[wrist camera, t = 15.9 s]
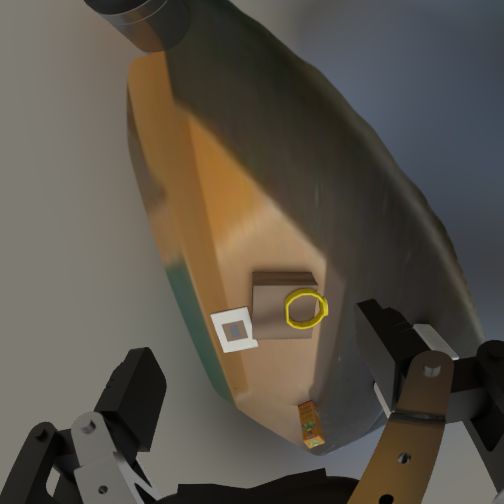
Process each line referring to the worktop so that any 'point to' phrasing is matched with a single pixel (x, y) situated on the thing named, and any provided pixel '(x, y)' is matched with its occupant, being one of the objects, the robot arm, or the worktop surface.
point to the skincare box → (434, 340)
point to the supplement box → (310, 424)
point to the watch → (312, 322)
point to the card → (234, 329)
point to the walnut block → (281, 304)
